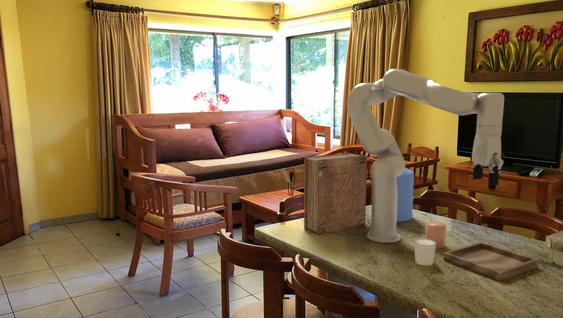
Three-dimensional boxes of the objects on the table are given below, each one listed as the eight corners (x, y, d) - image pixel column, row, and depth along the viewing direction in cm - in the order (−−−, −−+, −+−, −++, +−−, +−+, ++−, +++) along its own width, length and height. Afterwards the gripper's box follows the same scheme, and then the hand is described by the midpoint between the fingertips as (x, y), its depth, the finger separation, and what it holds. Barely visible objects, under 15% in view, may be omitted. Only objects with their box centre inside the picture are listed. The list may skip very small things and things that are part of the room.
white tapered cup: (436, 267, 140) (437, 246, 139) (414, 265, 141) (415, 244, 140) (433, 259, 147) (434, 239, 146) (412, 257, 148) (413, 237, 147)
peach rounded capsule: (420, 244, 161) (421, 223, 160) (433, 240, 165) (434, 220, 163) (436, 250, 155) (437, 228, 154) (449, 246, 159) (450, 225, 157)
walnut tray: (443, 259, 146) (443, 252, 146) (480, 248, 156) (481, 241, 156) (499, 281, 129) (500, 273, 129) (537, 267, 139) (538, 259, 139)
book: (317, 235, 172) (317, 160, 168) (303, 229, 180) (303, 157, 175) (365, 224, 185) (367, 154, 181) (351, 219, 193) (352, 152, 189)
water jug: (418, 217, 196) (421, 155, 192) (401, 224, 185) (403, 159, 181) (387, 210, 207) (389, 152, 203) (369, 217, 195) (371, 155, 191)
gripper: (464, 128, 152) (461, 176, 154) (492, 133, 135) (488, 187, 137) (485, 128, 152) (482, 176, 155) (515, 133, 135) (511, 187, 138)
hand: (484, 181), depth 146 cm, fingers open, 9 cm apart
